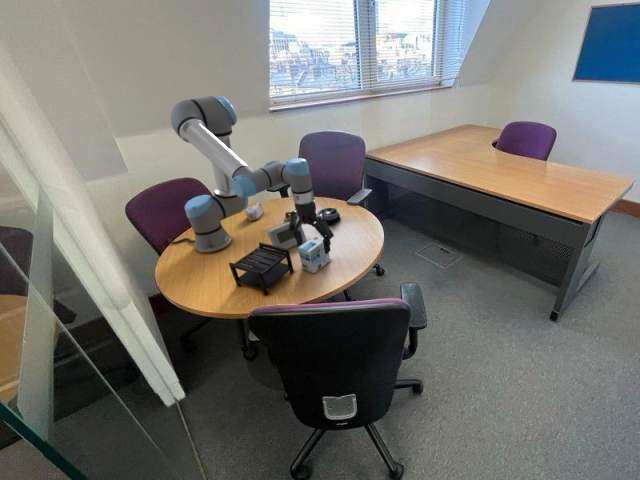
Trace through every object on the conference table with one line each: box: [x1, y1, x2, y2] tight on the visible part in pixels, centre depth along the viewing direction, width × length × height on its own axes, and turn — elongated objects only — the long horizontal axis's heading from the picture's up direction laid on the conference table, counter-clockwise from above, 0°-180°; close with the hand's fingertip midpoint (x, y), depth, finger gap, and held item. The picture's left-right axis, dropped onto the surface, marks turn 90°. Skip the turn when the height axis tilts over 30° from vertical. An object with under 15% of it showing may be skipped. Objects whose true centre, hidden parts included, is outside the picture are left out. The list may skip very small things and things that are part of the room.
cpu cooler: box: [316, 207, 341, 227], centre depth 162 cm, size 10×6×10 cm
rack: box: [228, 241, 295, 297], centre depth 121 cm, size 15×16×11 cm
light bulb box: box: [297, 235, 331, 274], centre depth 128 cm, size 11×7×11 cm, turn 148°
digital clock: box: [267, 219, 307, 252], centre depth 142 cm, size 16×9×11 cm, turn 123°
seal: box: [284, 211, 300, 223], centre depth 166 cm, size 9×5×15 cm
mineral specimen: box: [244, 202, 264, 222], centre depth 170 cm, size 13×7×6 cm, turn 175°
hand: (314, 249), depth 126 cm, fingers open, 13 cm apart
